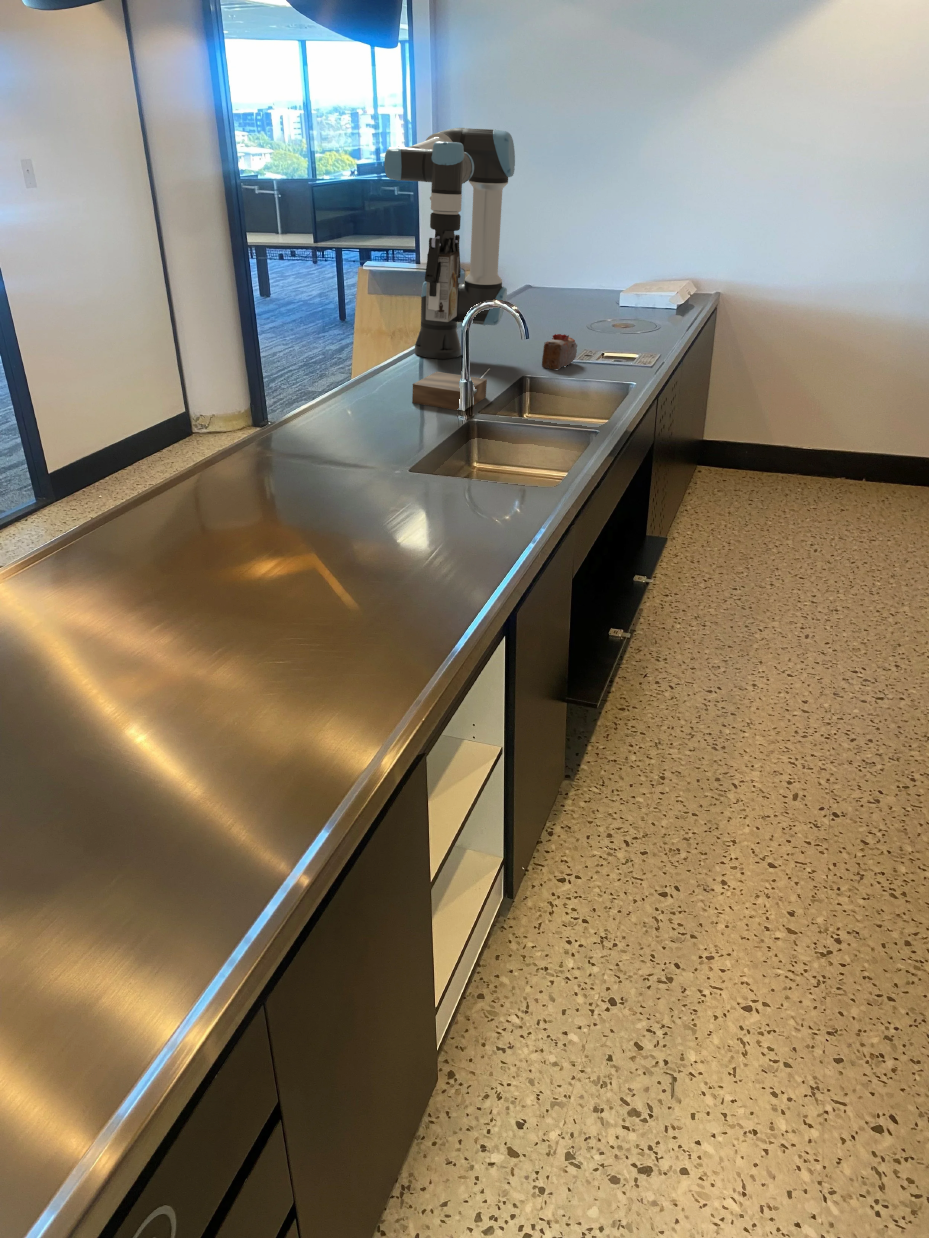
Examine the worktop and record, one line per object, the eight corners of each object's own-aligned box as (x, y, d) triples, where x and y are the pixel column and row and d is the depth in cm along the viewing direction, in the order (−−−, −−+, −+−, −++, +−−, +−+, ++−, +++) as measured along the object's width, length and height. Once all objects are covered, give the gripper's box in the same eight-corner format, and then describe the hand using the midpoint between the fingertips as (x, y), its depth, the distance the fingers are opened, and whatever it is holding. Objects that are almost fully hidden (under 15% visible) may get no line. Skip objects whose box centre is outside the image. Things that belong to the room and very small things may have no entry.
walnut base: (436, 389, 249) (436, 371, 247) (485, 397, 245) (486, 379, 242) (412, 402, 236) (412, 384, 234) (464, 411, 232) (465, 392, 229)
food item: (554, 359, 290) (557, 328, 285) (577, 363, 287) (580, 332, 282) (539, 368, 279) (541, 335, 274) (562, 371, 276) (566, 339, 271)
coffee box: (433, 314, 235) (436, 249, 228) (457, 316, 234) (460, 251, 227) (424, 320, 228) (426, 253, 220) (448, 322, 226) (451, 255, 219)
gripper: (450, 209, 229) (446, 299, 240) (412, 213, 211) (410, 311, 222) (476, 211, 227) (471, 302, 237) (440, 216, 208) (437, 314, 219)
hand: (442, 306), depth 230 cm, fingers closed on coffee box, 10 cm apart
